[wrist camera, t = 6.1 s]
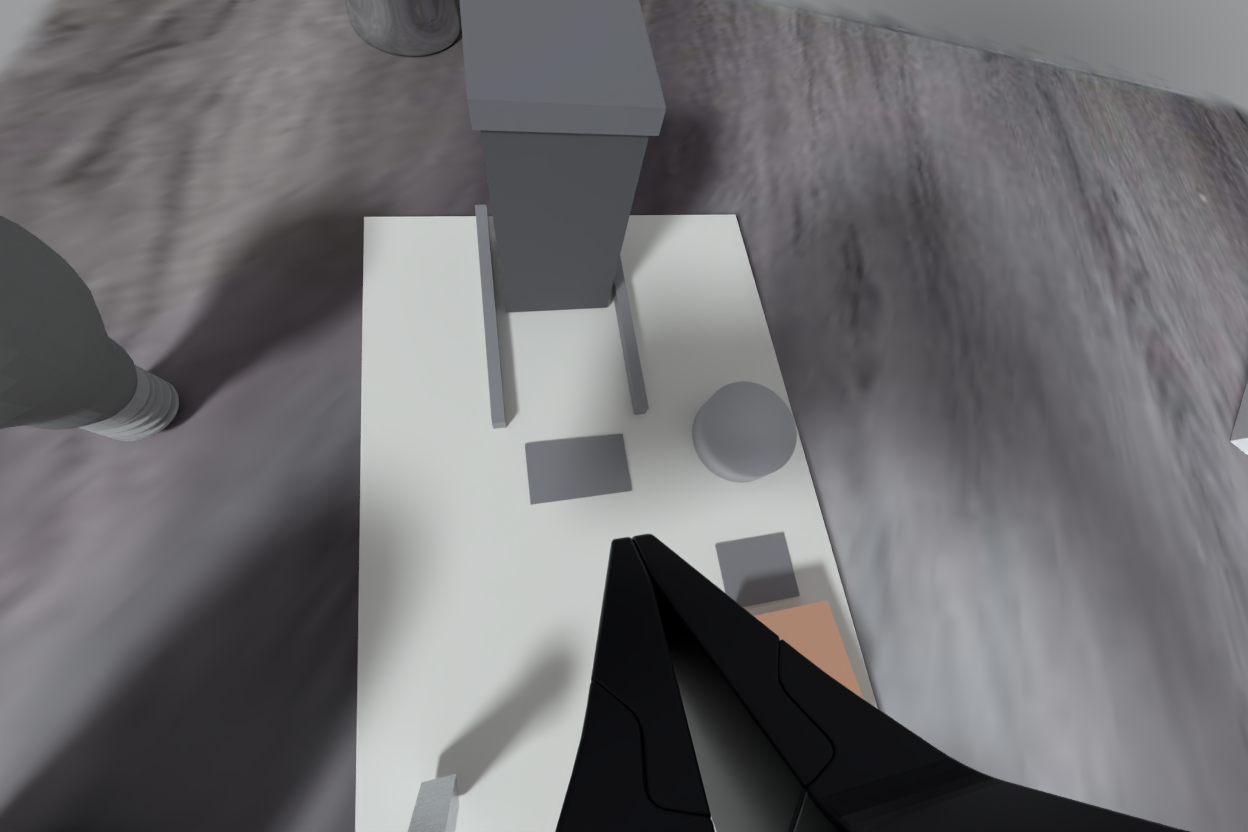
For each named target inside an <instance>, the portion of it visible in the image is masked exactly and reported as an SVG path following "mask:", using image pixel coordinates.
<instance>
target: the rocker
mask: <svg viewBox="0 0 1248 832" xmlns="http://www.w3.org/2000/svg"><path fill="white" fill-rule="evenodd" d="M754 617H756V618H757V619H758V620H759V621H761V622H762V623H763V624H764V625H766V626H767V627H768V628H769V629H771V630H772V631H773V632H774V633H776V634H777V635H778V636H779V638H780V640H781V639H783V640H784V641H786V642H787V643H788V644H789V645H791V646H792V647H793V648H794V649H796V650H797V651H798V652H799V653H801V654H802V655H803V656H805V657H806V658H807V659H808V660H810V661H811V662H812V663H814V664H815V665H816V666H818V667H819V668H820V669H821V670H823V671H824V672H825V673H827V674H828V675H830V676H831V677H832V678H834V679H835V680H837V681H838V682H839V683H841V684H842V685H844V686H845V687H847V688H848V689H849V690H851V691H852V692H854V693H855V694H857V695H858V696H859V697H861V698H862V699H864V698H863V696H862V693H861V690H860V688H859V685H858V682H857V680H856V677H855V674H854V671H853V669H852V666H851V663H850V661H849V658H848V655H847V652H846V650H845V647H844V644H843V642H842V639H841V636H840V634H839V631H838V628H837V625H836V623H835V620H834V617H833V615H832V612H831V609H830V607H829V604H828V601H822V602H817V603H812V604H807V605H803V606H798V607H793V608H788V609H784V610H779V611H774V612H769V613H764V614H760V615H755V616H754Z"/></svg>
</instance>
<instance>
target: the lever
mask: <svg viewBox="0 0 1248 832" xmlns="http://www.w3.org/2000/svg"><path fill="white" fill-rule="evenodd" d="M459 806H460V804H459V795H458V786H457V777H456V774H453V775H449V776H445V777H441V778H437V779H433V780H429V781H425V782H421V786H420V789H419V793H418V796H417V800H416V804H415V807H414V811H413V814H412V818H411V822H410V825H409V829H408V832H455V830H456V824H457V818H458V812H459Z"/></svg>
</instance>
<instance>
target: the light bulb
mask: <svg viewBox="0 0 1248 832" xmlns="http://www.w3.org/2000/svg"><path fill="white" fill-rule="evenodd" d="M178 407H179V398H178V394H177V392H176V390H175V388H174V387H173V386H172V385H171V384H170V383H168V382H167V381H165V380H163V379H161V378H159V377H157V376H155V375H153V374H152V373H150V372H147V371H145V370H143V369H142V368H140V367H138V366H136V365H134V363H133V360H132V359H131V358H130V356H129V355H128V354H127V352H126V351H125V350H124V349H123V348H122V347H121V346H120V345H118V344H117V343H116V342H115V341H113V340H112V339H111V338H109V337H108V335H107V333H106V331H105V328H104V323H103V321H102V318H101V316H100V313H99V311H98V309H97V307H96V304H95V301H94V299H93V296H92V294H91V291H90V290H89V288H88V287H87V286H86V284H85V283H84V282H83V280H82V279H81V278H80V277H79V275H78V274H77V273H76V272H75V270H74V269H73V268H72V267H71V266H70V265H69V264H68V263H67V262H66V261H65V260H64V259H63V258H62V257H61V256H60V255H58V254H57V253H56V252H55V251H54V250H53V249H51V248H50V247H49V246H47V245H46V244H45V243H44V242H42V241H41V240H40V239H38V238H37V237H36V236H34V235H33V234H31V233H30V232H28V231H27V230H25V229H24V228H22V227H21V226H19V225H18V224H16V223H14V222H12V221H10V220H8V219H6V218H4V217H2V216H0V429H3V428H8V427H15V426H23V425H25V426H30V427H36V428H43V429H70V428H81V429H85V430H87V431H90V432H94V433H97V434H100V435H103V436H107V437H109V438H112V439H116V440H120V441H137V440H141V439H146V438H148V437H151V436H153V435H155V434H157V433H158V432H160V431H162V430H163V429H164V428H165V427H167V426H168V425H169V423H170V422H171V421H172V420H173V418H174V417H175V415H176V413H177V410H178Z"/></svg>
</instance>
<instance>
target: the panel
mask: <svg viewBox="0 0 1248 832" xmlns="http://www.w3.org/2000/svg"><path fill="white" fill-rule="evenodd" d="M475 211H476V216H432V217H364V256H363V327H362V397H361V467H360V538H359V608H358V678H357V748H356V819H355V832H408V829H409V825H410V822H411V818H412V814H413V811H414V807H415V804H416V800H417V796H418V793H419V789H420V786H421V782H425V781H429V780H433V779H437V778H441V777H445V776H449V775H453V774H456V777H457V786H458V795H459V804H460V806H459V812H458V818H457V824H456V830H455V832H555V830H556V827H557V823H558V820H559V816H560V813H561V809H562V806H563V802H564V799H565V795H566V792H567V788H568V784H569V781H570V777H571V774H572V770H573V766H574V762H575V758H576V754H577V750H578V746H579V742H580V739H581V734H582V728H583V723H584V718H585V712H586V707H587V701H588V694H589V687H590V683H591V675H592V669H593V662H594V655H595V648H596V642H597V635H598V628H599V621H600V615H601V608H602V601H603V594H604V588H605V581H606V574H607V568H608V561H609V554H610V547H611V542H612V540H613V539H617V538H624V537H630V538H633V537H634V536H636V535H643V534H652V535H654V536H655V537H656V538H658V539H659V540H660V541H661V542H663V543H664V544H665V545H666V546H668V547H669V548H670V549H671V550H673V551H674V552H675V553H676V554H678V555H679V556H680V557H681V558H682V559H684V560H685V561H686V562H687V563H689V564H690V565H691V566H692V567H694V568H695V569H696V570H697V571H699V572H700V573H701V574H702V575H704V576H705V577H706V578H707V579H709V580H710V581H711V582H712V583H714V584H715V585H716V586H717V587H718V588H720V589H721V590H722V591H723V592H725V593H726V594H727V595H728V596H730V597H731V598H732V599H733V600H735V601H736V602H737V603H738V604H740V605H741V606H742V607H743V608H745V609H746V610H747V611H748V612H749V613H751V614H752V615H753V616H755V615H760V614H764V613H769V612H774V611H779V610H784V609H788V608H793V607H798V606H803V605H807V604H812V603H817V602H822V601H828V604H829V607H830V609H831V612H832V615H833V617H834V620H835V623H836V625H837V628H838V631H839V634H840V636H841V639H842V642H843V644H844V647H845V650H846V652H847V655H848V658H849V661H850V663H851V666H852V669H853V671H854V674H855V677H856V680H857V682H858V685H859V688H860V690H861V693H862V696H863V698H864V700H865V701H867V702H868V703H870V704H871V705H873V706H874V707H876V708H877V705H876V701H875V698H874V694H873V691H872V687H871V684H870V680H869V677H868V673H867V670H866V666H865V663H864V659H863V656H862V652H861V649H860V645H859V642H858V639H857V635H856V632H855V628H854V625H853V621H852V618H851V614H850V611H849V607H848V604H847V600H846V597H845V593H844V590H843V586H842V583H841V580H840V576H839V573H838V569H837V566H836V562H835V559H834V555H833V552H832V548H831V545H830V541H829V538H828V534H827V531H826V527H825V524H824V520H823V517H822V514H821V510H820V507H819V503H818V500H817V496H816V493H815V489H814V486H813V482H812V479H811V475H810V472H809V468H808V465H807V461H806V458H805V454H804V451H803V448H802V444H801V441H800V437H799V434H798V430H797V427H796V423H795V420H794V416H793V413H792V409H791V406H790V402H789V399H788V395H787V392H786V388H785V385H784V382H783V378H782V375H781V371H780V368H779V364H778V361H777V357H776V354H775V350H774V347H773V343H772V340H771V336H770V333H769V329H768V326H767V323H766V319H765V316H764V312H763V309H762V305H761V302H760V298H759V295H758V291H757V288H756V284H755V281H754V277H753V274H752V270H751V267H750V263H749V260H748V257H747V253H746V250H745V246H744V243H743V239H742V236H741V232H740V229H739V225H738V222H737V218H736V215H630V216H629V220H628V225H627V229H626V233H625V237H624V241H623V245H622V249H621V253H620V257H619V261H618V266H617V270H616V274H615V278H614V282H613V286H612V290H611V294H610V298H609V302H608V307H607V308H590V309H570V310H550V311H530V312H510V313H506V308H505V301H504V294H503V287H502V280H501V273H500V265H499V258H498V251H497V244H496V237H495V230H494V222H493V216H488V212H487V205H475ZM877 709H878V708H877ZM711 820H712V818H711ZM712 822H713V821H712ZM713 825H714V823H713ZM714 829H715V826H714ZM715 832H717V831H716V829H715Z"/></svg>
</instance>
